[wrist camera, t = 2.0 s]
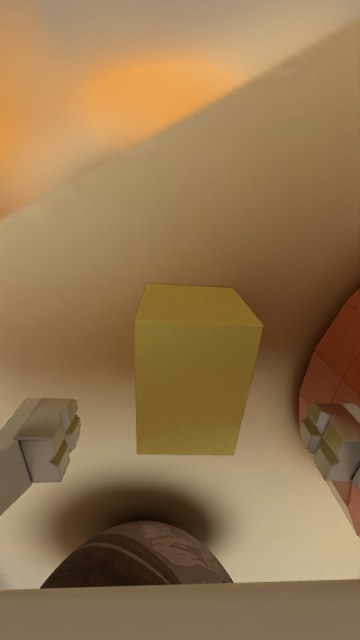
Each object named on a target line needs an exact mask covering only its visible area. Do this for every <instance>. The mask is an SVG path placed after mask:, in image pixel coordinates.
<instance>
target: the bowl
mask: <svg viewBox="0 0 360 640" xmlns="http://www.w3.org/2000/svg"><path fill="white" fill-rule="evenodd" d="M345 303H346V304H345V305H344V306H343V307H342V309H341V310H340V312H339V313H338V315H337V316H336V318H335V319H334V321H333V322H332V324H331V325H330V327H329V328H328V330H327V331H326V333H325V334H324V336H323V337H322V339H321V341H320V342H319V344H318V345H317V347H316V348H315V351H314V352H313V355H312V358H311V360H310V363H309V366H308V369H307V372H306V375H305V378H304V381H303V383H302V386H301V389H300V393H299V428H300V425H301V422H302V420H303V419H304V418H306V417H307V414H306V412H305V410H306V408H307V406H308V405H309V404H310V403H353V404H355V405H357V406H358V407H359V408H360V288H359V289H358V290H357V291H356V292H355V293H354V294H353V295H352V296H351V297H350V298H349V299H348V300H347V301H346V302H345ZM308 451H309V450H308ZM309 453H310V454H311V456H312V458H313V460H314V454H313V453H311V452H310V451H309ZM326 482H327V484H328V486H329V487H330V489H331V491H332V493H333V494H334V496H335V498H336V500H337V501H338V503H339V505H340V506H341V508H342V510H343V512H344V513H345V515H346V517H347V519H348V520H349V522H350V524H351V526H352V527H353V529H354V531H355V533H356V534H357V535H358V536H359V537H360V491H359V490H358V489H357V488H356V487H355V486H354V485H353V484H351V481H326Z"/></svg>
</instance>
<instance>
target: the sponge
mask: <svg viewBox="0 0 360 640" xmlns="http://www.w3.org/2000/svg"><path fill="white" fill-rule="evenodd" d="M263 328H264V325H263V324H262V323H261V321H260V320H259V319H258V318H257V316H256V315H255V314H254V313H253V312H252V310H251V309H250V308H249V307H248V306H247V304H246V303H245V302H244V301H243V299H242V298H241V297H240V296H239V295H238V293H237V292H236V291H235V290H234V288H225V287H206V286H186V285H167V284H146V287H145V290H144V293H143V296H142V299H141V302H140V305H139V308H138V311H137V314H136V317H135V320H134V336H135V386H136V437H137V454H174V455H234V451H235V447H236V443H237V439H238V434H239V430H240V426H241V422H242V417H243V413H244V409H245V405H246V400H247V396H248V392H249V387H250V383H251V379H252V375H253V370H254V366H255V362H256V358H257V353H258V349H259V345H260V340H261V336H262V332H263Z"/></svg>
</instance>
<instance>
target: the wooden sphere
mask: <svg viewBox="0 0 360 640" xmlns="http://www.w3.org/2000/svg"><path fill="white" fill-rule="evenodd" d="M214 583H233V581H232V579H231V578H230V576H229V575H228V573H227V572H226V570H225V569H224V567H223V566H222V565H221V563H220V562H219V561H218V560H217V558H216V557H215V556H214V555H213V554H212V553H211V552H210V551H209V550H208V549H207V548H206V547H205V546H204V545H203V544H202V543H201V542H200V541H198V540H197V539H196V538H194V537H193V536H192V535H190V534H189V533H187V532H185V531H183V530H181V529H179V528H177V527H175V526H173V525H170V524H166V523H163V522H158V521H133V522H127V523H123V524H120V525H117V526H114V527H112V528H109V529H107V530H105V531H103V532H101V533H99V534H97V535H96V536H94V537H92V538H91V539H89V540H88V541H87V542H85V543H84V544H82V545H81V546H80V547H79V548H77V549H76V550H75V551H74V552H73V553H71V554H70V555H69V556H68V557H67V558H66V559H65V560H64V561H63V562H62V563H61V564H60V565H59V566H58V567H57V568H56V569H55V570H54V572H53V573H52V574H51V575H50V576H49V577H48V579H47V580H46V581H45V582H44V584H43V585H42V586H41V587H40V589H47V588H80V587H113V586H146V585H180V584H214Z"/></svg>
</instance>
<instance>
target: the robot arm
mask: <svg viewBox="0 0 360 640" xmlns="http://www.w3.org/2000/svg"><path fill="white" fill-rule="evenodd" d="M77 410H78V404H77V400H75V399H55V398H28V399H26V400H24V402H23V403H22V404H21V405H20V407H19V408H18V409H17V410H16V412H15V413H14V414H13V415H12V417H11V418H10V419H9V420H8V422H7V423H6V424H5V425H4V427H3V428H2V429H1V431H0V515H1V514H3V513H4V512H5V511H6V510H7V509H8V508H9V507H10V506H11V505H12V504H13V503H14V502H15V501H16V500H17V499H18V498H19V497H20V496H21V495H22V494H23V493H24V492H25V491H26V490H27V489H28V488H29V487H30V486H31V485H32V483H41V482H61V481H62V479H63V476H64V474H65V471H66V469H67V467H68V464H69V462H70V458H69V453H70V452H71V451H72V450H73V449H74V448H75V447H76V444H77V442H78V439H79V434H80V425H81V423H80V418H79V417H78V416H77V415H76V412H77ZM305 412H306V414H307V417H306V418H304V419H303V420H302V422H301V425H300V436H301V439H302V442H303V444H304V445H305V447H306V449H307V450H309V451H310V452H311V453H313V454H314V463H315V464H316V466H317V468H318V469H319V471H320V473H321V474H322V476H323V478H324V480H325V481H351V484H353V485H354V486H355V487H356V488H357V489H358V490H359V491H360V408H359V407H358V406H357V405H355V404H353V403H310V404H309V405H308V406H307V408H306V410H305ZM0 640H360V579H349V580H315V581H281V582H247V583H214V584H180V585H146V586H113V587H80V588H47V589H14V590H0Z"/></svg>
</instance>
